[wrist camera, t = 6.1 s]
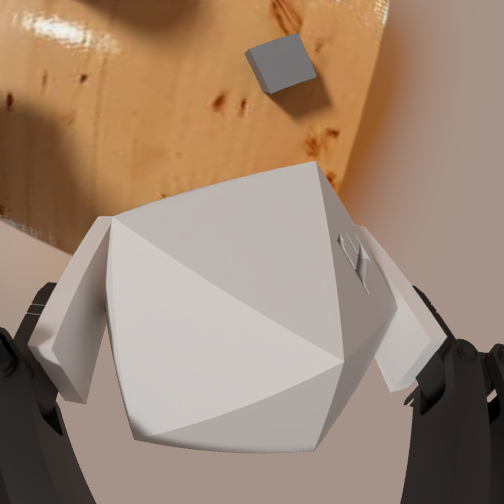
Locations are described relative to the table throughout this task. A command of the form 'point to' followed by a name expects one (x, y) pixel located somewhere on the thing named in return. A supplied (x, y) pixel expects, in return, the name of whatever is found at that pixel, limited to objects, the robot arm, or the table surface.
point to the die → (242, 313)
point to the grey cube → (280, 63)
